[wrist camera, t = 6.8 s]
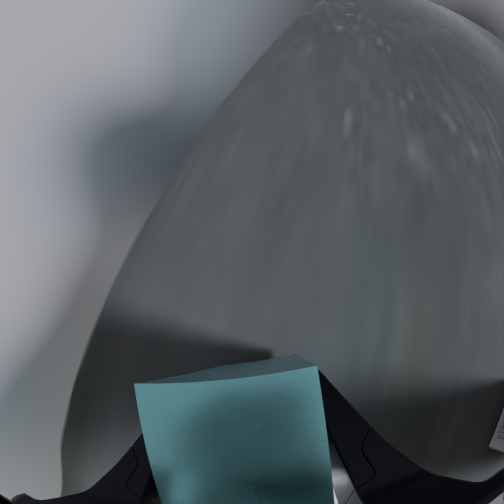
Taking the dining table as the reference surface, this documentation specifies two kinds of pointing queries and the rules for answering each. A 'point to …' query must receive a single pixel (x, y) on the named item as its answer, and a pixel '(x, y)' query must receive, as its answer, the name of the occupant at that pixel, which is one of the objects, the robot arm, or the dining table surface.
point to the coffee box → (498, 436)
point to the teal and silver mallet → (238, 434)
